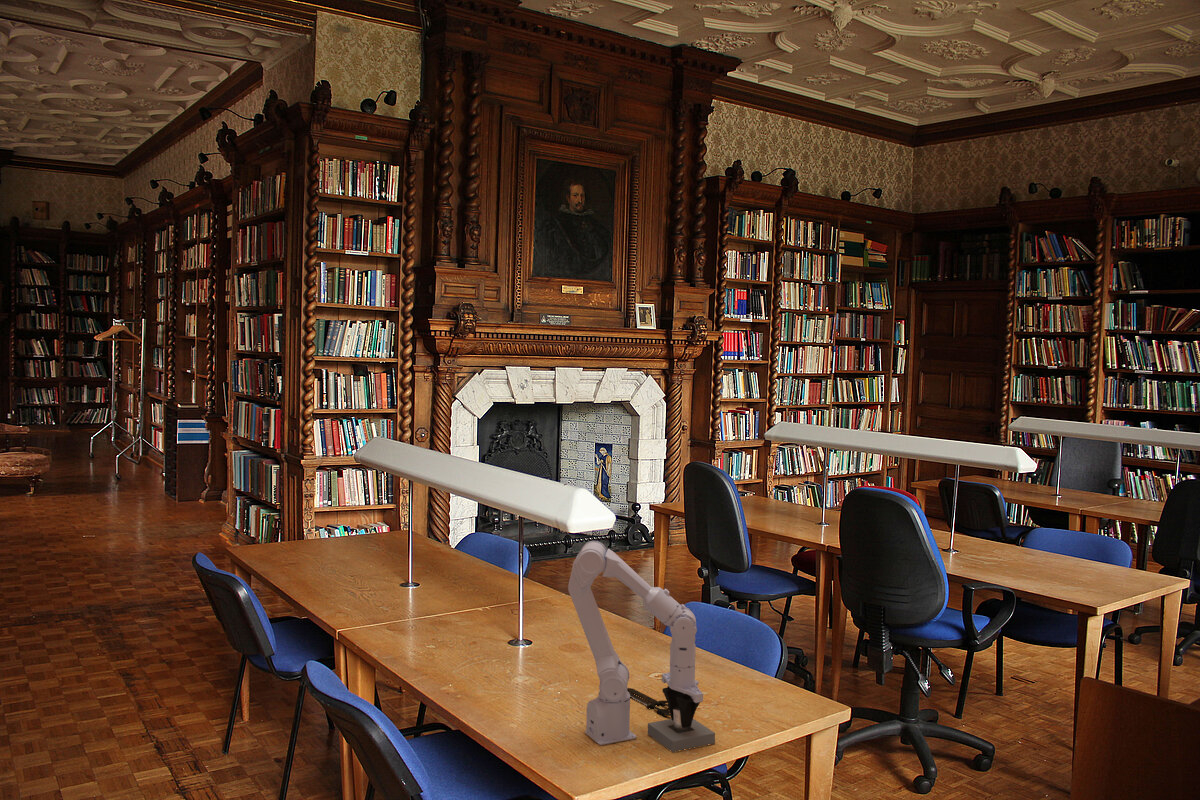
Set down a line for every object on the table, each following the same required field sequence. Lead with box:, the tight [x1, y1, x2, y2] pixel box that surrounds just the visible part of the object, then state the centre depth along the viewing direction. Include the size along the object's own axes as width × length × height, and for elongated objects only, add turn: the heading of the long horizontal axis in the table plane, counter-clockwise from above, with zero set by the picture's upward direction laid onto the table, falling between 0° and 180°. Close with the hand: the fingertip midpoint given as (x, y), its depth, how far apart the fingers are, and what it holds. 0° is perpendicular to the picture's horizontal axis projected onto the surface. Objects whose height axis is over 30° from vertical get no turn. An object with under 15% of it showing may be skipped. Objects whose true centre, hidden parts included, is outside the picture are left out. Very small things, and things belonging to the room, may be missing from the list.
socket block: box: [647, 718, 716, 753], centre depth 209 cm, size 11×11×2 cm
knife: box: [627, 687, 671, 718], centre depth 231 cm, size 25×6×1 cm, turn 30°
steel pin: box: [673, 706, 688, 733], centre depth 209 cm, size 3×3×7 cm
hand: (681, 723), depth 209 cm, fingers open, 4 cm apart
